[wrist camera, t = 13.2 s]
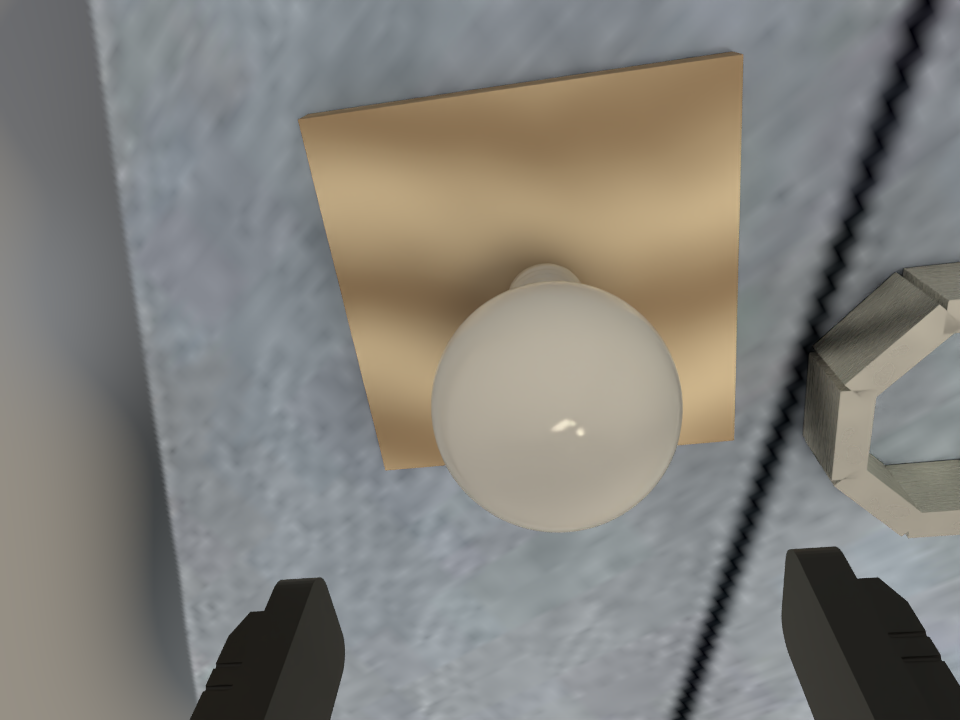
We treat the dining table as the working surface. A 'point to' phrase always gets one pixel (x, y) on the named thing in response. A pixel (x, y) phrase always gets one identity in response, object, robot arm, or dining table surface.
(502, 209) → the oak board
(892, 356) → the collar
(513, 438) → the lightbulb
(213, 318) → the dining table surface
